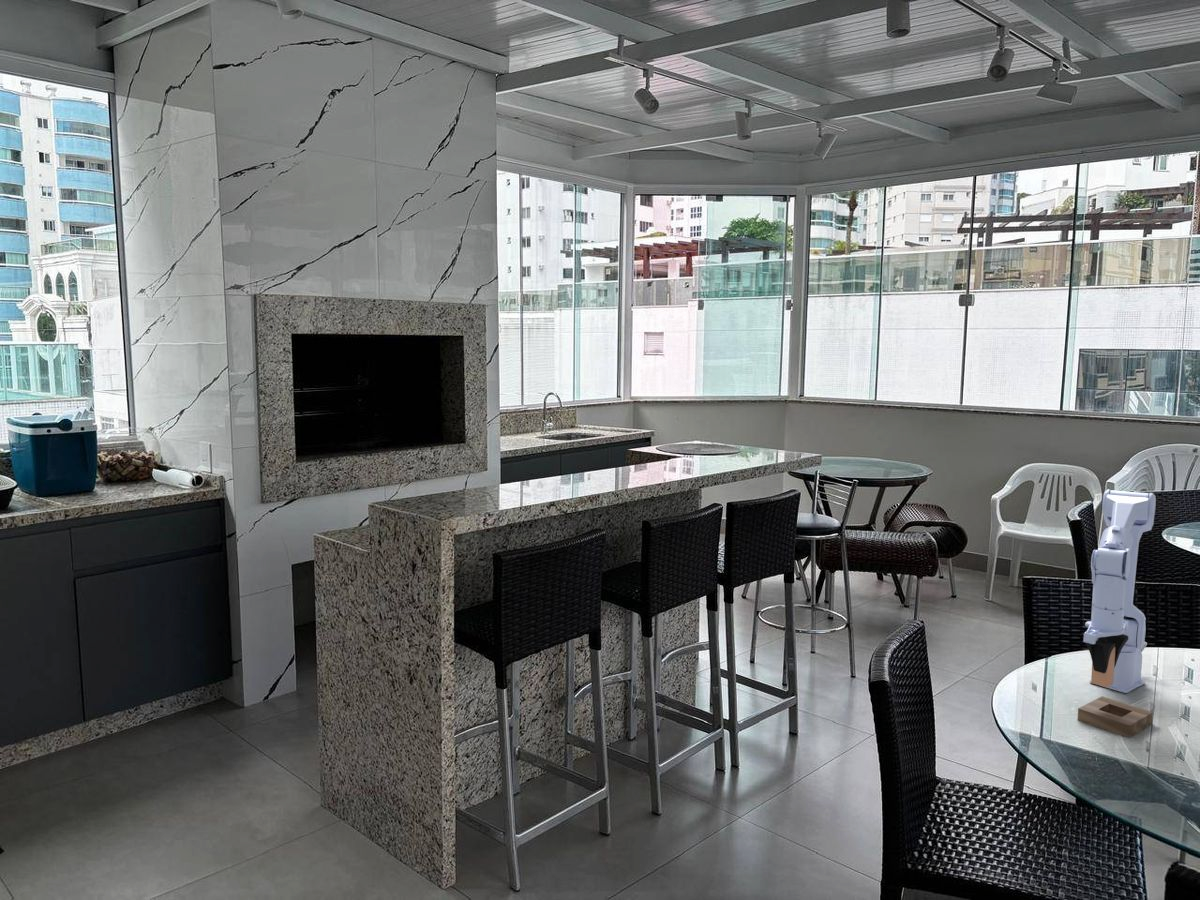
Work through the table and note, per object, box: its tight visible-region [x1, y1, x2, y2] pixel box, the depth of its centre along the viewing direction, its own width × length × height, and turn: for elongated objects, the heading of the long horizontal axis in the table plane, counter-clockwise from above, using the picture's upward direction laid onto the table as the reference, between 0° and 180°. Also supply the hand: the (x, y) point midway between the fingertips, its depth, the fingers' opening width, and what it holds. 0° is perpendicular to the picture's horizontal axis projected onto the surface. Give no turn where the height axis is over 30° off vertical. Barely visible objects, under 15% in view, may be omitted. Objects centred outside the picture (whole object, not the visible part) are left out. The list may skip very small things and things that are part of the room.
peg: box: [1090, 647, 1116, 688], centre depth 181 cm, size 3×3×8 cm
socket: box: [1077, 695, 1154, 738], centre depth 180 cm, size 10×10×2 cm
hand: (1104, 669), depth 181 cm, fingers closed on peg, 3 cm apart
